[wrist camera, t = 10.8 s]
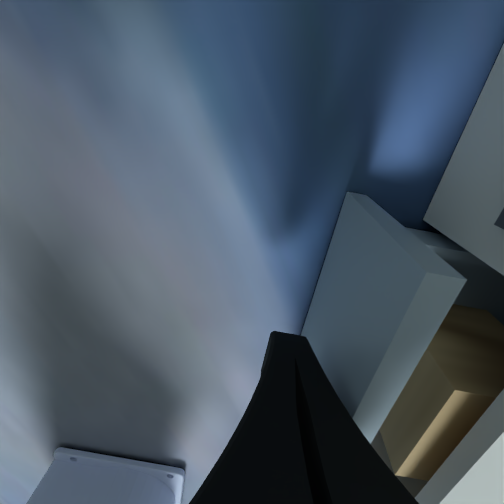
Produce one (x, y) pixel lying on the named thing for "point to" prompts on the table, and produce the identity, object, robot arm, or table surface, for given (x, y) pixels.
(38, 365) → the table surface
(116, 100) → the table surface
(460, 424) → the oak block
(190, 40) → the table surface
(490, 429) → the player box
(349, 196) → the sliding drawer
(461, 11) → the table surface
